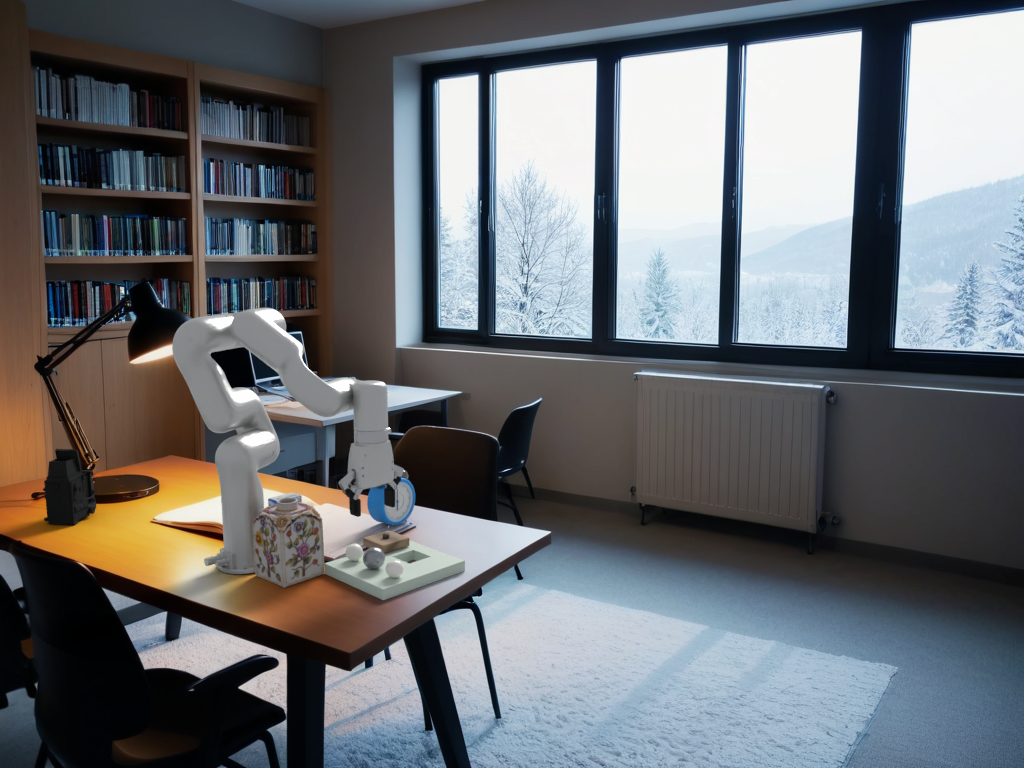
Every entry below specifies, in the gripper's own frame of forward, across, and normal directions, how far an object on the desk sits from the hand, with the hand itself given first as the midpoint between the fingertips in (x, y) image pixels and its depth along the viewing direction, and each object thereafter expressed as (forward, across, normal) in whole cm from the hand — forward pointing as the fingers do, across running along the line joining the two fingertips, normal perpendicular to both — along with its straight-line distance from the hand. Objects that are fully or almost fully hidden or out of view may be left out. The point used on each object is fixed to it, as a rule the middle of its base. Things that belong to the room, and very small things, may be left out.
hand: (372, 510), depth 194 cm
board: (+16, -6, 0) cm, 17 cm away
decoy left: (+12, 0, -8) cm, 14 cm away
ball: (+11, 0, 0) cm, 11 cm away
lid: (+13, -11, -10) cm, 20 cm away
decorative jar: (+16, +12, -16) cm, 26 cm away
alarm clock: (+16, -28, -29) cm, 44 cm away
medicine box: (+16, -6, -47) cm, 50 cm away
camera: (+16, +31, -96) cm, 102 cm away
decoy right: (+12, 0, +8) cm, 14 cm away
